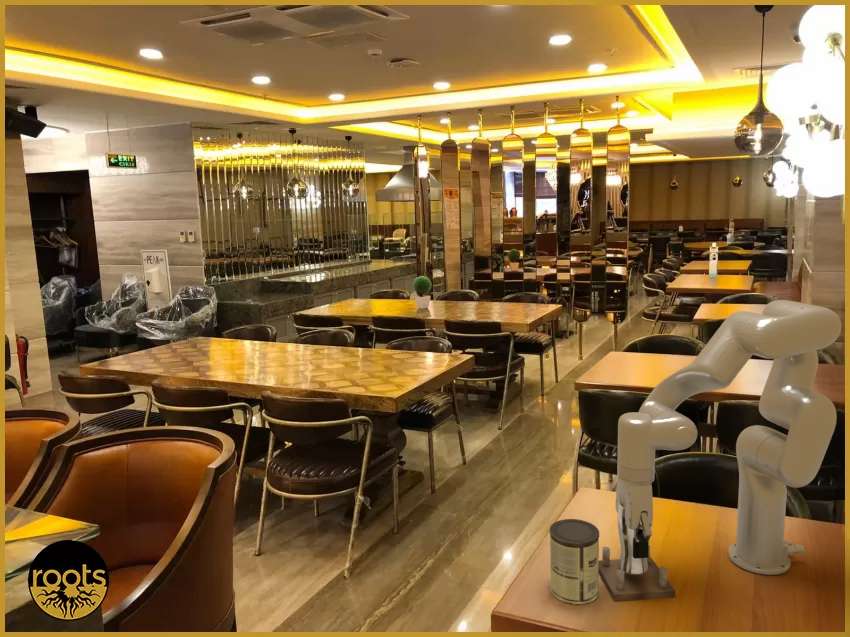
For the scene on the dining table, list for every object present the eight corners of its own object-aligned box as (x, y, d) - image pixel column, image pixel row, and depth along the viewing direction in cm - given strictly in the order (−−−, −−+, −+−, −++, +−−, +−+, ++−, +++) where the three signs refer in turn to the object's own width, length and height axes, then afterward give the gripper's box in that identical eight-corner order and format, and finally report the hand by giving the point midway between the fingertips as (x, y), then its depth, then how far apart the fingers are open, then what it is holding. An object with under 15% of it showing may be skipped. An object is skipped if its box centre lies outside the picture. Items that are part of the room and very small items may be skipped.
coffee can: (557, 572, 145) (557, 514, 143) (603, 583, 140) (604, 523, 138) (543, 597, 136) (543, 536, 134) (592, 610, 131) (593, 547, 129)
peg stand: (650, 563, 147) (651, 541, 146) (675, 597, 134) (675, 573, 133) (595, 566, 147) (595, 544, 146) (614, 601, 134) (614, 577, 133)
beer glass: (630, 555, 145) (631, 493, 142) (657, 569, 139) (658, 504, 136) (610, 566, 141) (611, 502, 138) (636, 580, 135) (637, 514, 133)
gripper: (605, 456, 144) (604, 529, 148) (633, 489, 127) (631, 572, 131) (637, 454, 145) (636, 527, 148) (670, 487, 128) (667, 569, 131)
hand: (634, 547), depth 139 cm, fingers closed on beer glass, 6 cm apart
